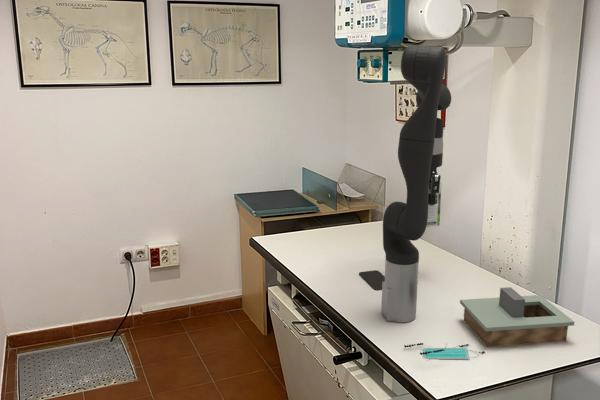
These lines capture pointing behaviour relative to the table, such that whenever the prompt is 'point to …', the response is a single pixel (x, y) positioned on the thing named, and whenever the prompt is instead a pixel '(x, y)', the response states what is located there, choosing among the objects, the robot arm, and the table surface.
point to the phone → (373, 279)
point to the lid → (513, 312)
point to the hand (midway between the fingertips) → (428, 201)
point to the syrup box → (434, 211)
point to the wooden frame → (518, 331)
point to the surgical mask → (445, 352)
